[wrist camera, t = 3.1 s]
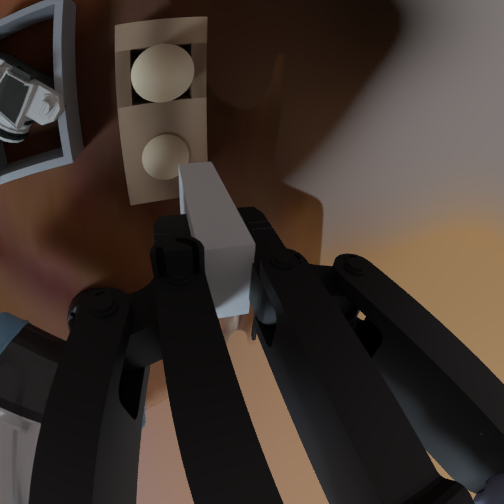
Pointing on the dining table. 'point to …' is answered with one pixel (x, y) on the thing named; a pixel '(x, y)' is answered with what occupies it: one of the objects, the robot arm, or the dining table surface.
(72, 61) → the caddy
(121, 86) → the beige slotted holder
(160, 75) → the cream rounded upright piece
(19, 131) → the camera
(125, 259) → the dining table surface
